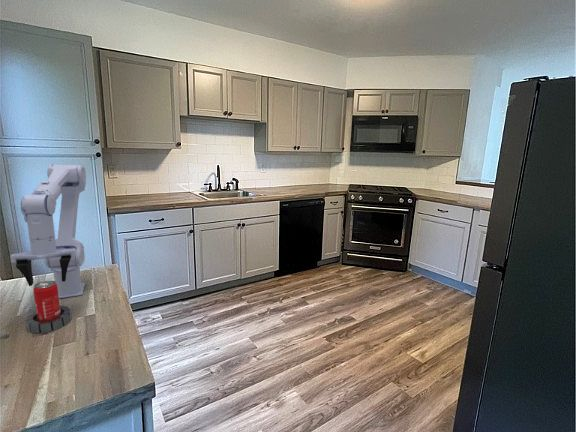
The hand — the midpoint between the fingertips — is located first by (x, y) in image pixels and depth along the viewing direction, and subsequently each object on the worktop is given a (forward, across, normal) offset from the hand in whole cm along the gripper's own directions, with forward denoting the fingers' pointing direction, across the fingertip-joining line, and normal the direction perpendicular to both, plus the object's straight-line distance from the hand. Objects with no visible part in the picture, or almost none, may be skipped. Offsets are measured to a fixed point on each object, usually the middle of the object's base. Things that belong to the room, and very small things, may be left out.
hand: (48, 282), depth 91 cm
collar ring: (+10, 0, -4) cm, 11 cm away
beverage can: (+11, 0, -5) cm, 12 cm away
